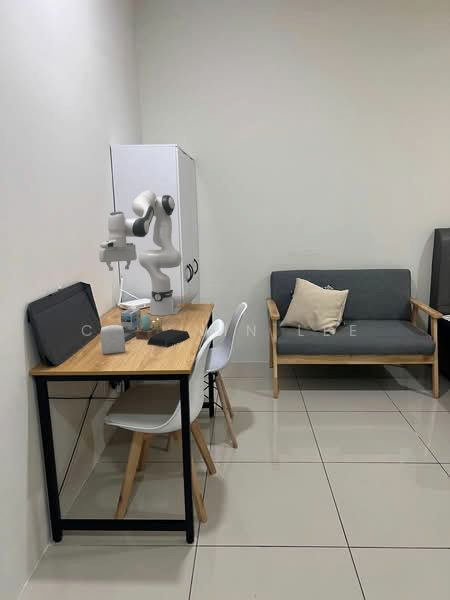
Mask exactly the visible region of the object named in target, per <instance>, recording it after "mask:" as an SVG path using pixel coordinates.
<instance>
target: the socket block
mask: <svg viewBox="0 0 450 600" xmlns="http://www.w3.org/2000/svg"><path fill="white" fill-rule="evenodd" d="M155 334H157V328H152V327H150V330H149V331H143V326H141V328H140V329H138V330H137V331H136V336H135V339H136V340H146V341H148V340H149V338H150V337H151V336H153V335H155Z"/></svg>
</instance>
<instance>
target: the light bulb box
mask: <svg viewBox="0 0 450 600" xmlns="http://www.w3.org/2000/svg"><path fill="white" fill-rule="evenodd" d="M141 312H142V311H141V308H140V309H139V308H138V309H137V308H128V309H126V310H124V311H121V312H120V324H121V325H120V326H122V327H123V329H135V330H138V329H140V328H142V315H141Z"/></svg>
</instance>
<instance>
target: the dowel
mask: <svg viewBox="0 0 450 600" xmlns="http://www.w3.org/2000/svg"><path fill="white" fill-rule="evenodd" d="M150 318H151V316H150V315H149V314H143V315H141V324H142V327H143V331H149V330H150V328H151V319H150Z"/></svg>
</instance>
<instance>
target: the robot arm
mask: <svg viewBox="0 0 450 600" xmlns="http://www.w3.org/2000/svg"><path fill="white" fill-rule="evenodd" d="M131 209H132V212H133V213H134V214H135V215H136V216H137V217H138V218H137V217H136V218H135V217H134V218H127V217H125V214H124V212H123V211H114V212H110V213H109V214H108V221H107V223H108V224H107V227H108V228H107V229H108V233H109V235H108V240H106V241H103V242H101V243H100V244H99V247H100V249H99V253H98V255H99V256H98V257H99V258H98V259H99V261H100V263H106V265H107V267H108V271H110V272H111V271H114V267H113V266H111V264H112V262H126V265H125V266H124V269H125V270H129V269H130V265H131V261H136V260H137V258H138V262H139V264H140V266H141V267H142V268H143V269H144V270H146V271H147V273H148V274H149V276H150V281H151V289H152V290H151V299H150V301H149V310H148V311H147V313H148V314H150V315H152V316H163V317H164V316H170V315H171V316H172V315H177V314H178V313H179V312H180V311H181V307H180V306H178V305H177V303H178V302H177V300H176V298H174V297H173V293H174V290H173V289H171V288H172V287H171V277H170V276H169V275H167V274H165V273H164V272H162V271H161V269H173V268H177V267H179V266H180V265H181V263H182V260H183V258H182V254H181V252H179V251H178V250H177V249H176V248H175V247H174V246H173V243H172V235H173V234H172V233H173V232H172V231H173V230H172V229H173V223H172V221H173V220H172V218H171V217H172V214H173V212H174V210H175V200H174V197H172V196H171V194H170V195H168V194H165V195H164V194H163V195H159V196H156V194H155V193H154V192H153V190H151V189H150V190H149V189H147V190H146V189H145V190H143V191H142V192H140V193H139V194H138V195H137V196H136V197H135V199H133V201H132V203H131ZM153 218H155V220H154V221H155V222H154V224H153V233H152V241H153V244H154V245H156V246H158V247H159V248H161V249H147V250H143V251H141V252H140V253H139V255H138V254H137V251H136V246H137V245H136V244H134V243H133V242H129V243H128V242H127V238H128V237H129V238H131V237H132V238H133V237H135V238H145V237H146V236H147V235H148V233H149V231H150V226H151V223H152V220H153ZM137 255H138V256H137Z"/></svg>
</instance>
